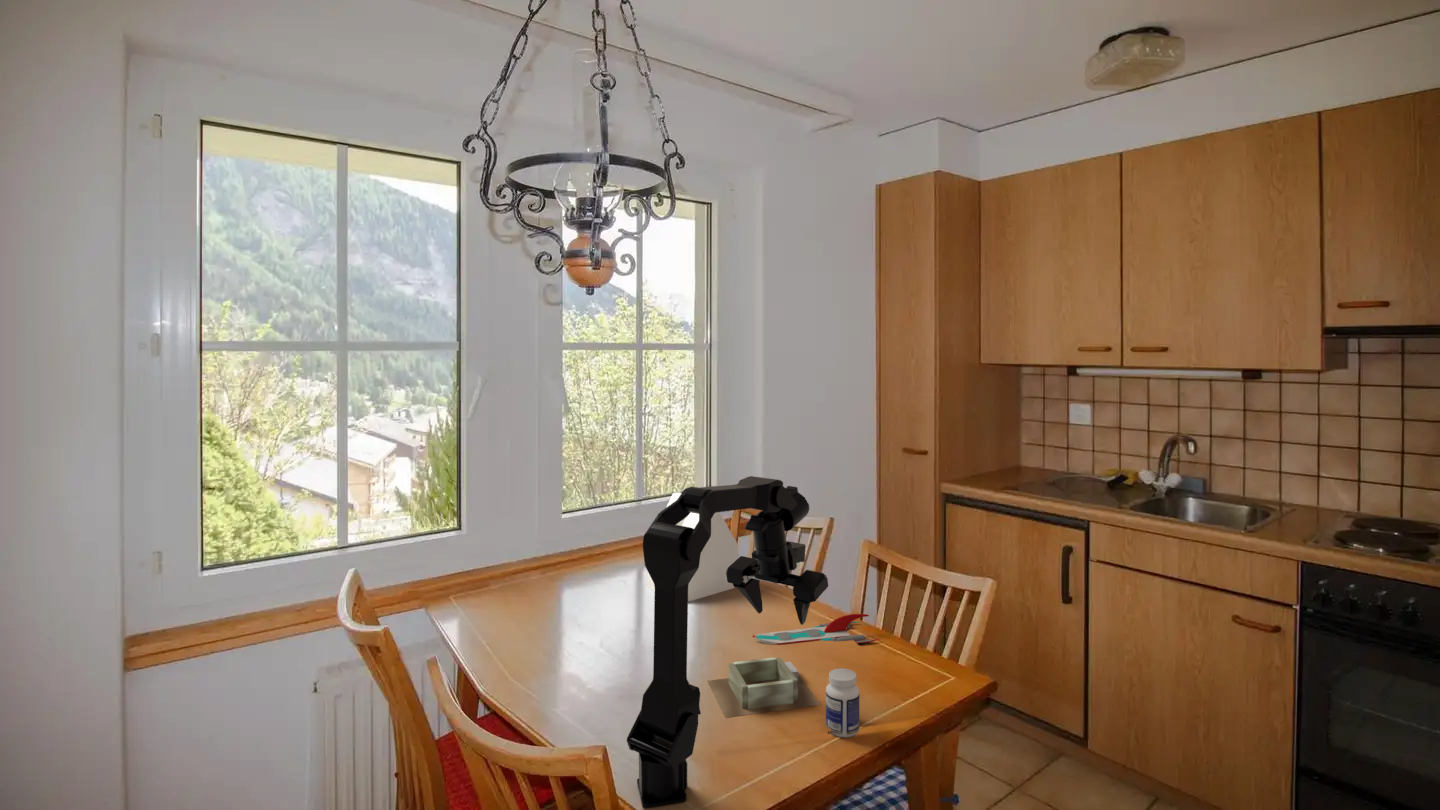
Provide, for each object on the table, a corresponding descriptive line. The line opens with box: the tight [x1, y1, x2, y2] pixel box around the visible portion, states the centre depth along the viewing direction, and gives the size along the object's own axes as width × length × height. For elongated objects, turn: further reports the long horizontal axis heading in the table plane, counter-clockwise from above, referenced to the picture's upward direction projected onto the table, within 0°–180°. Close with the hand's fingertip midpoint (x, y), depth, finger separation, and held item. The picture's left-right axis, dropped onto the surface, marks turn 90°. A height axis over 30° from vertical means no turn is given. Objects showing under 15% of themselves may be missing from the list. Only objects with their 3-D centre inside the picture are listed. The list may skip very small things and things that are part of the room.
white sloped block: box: [647, 492, 740, 603], centre depth 192 cm, size 19×15×25 cm
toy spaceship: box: [752, 613, 880, 646], centre depth 158 cm, size 27×11×5 cm, turn 108°
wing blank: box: [783, 661, 799, 680], centre depth 139 cm, size 3×4×2 cm
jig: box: [706, 656, 822, 719], centre depth 133 cm, size 18×14×5 cm
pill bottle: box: [825, 668, 860, 738], centre depth 121 cm, size 6×6×10 cm
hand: (781, 617), depth 131 cm, fingers open, 9 cm apart
